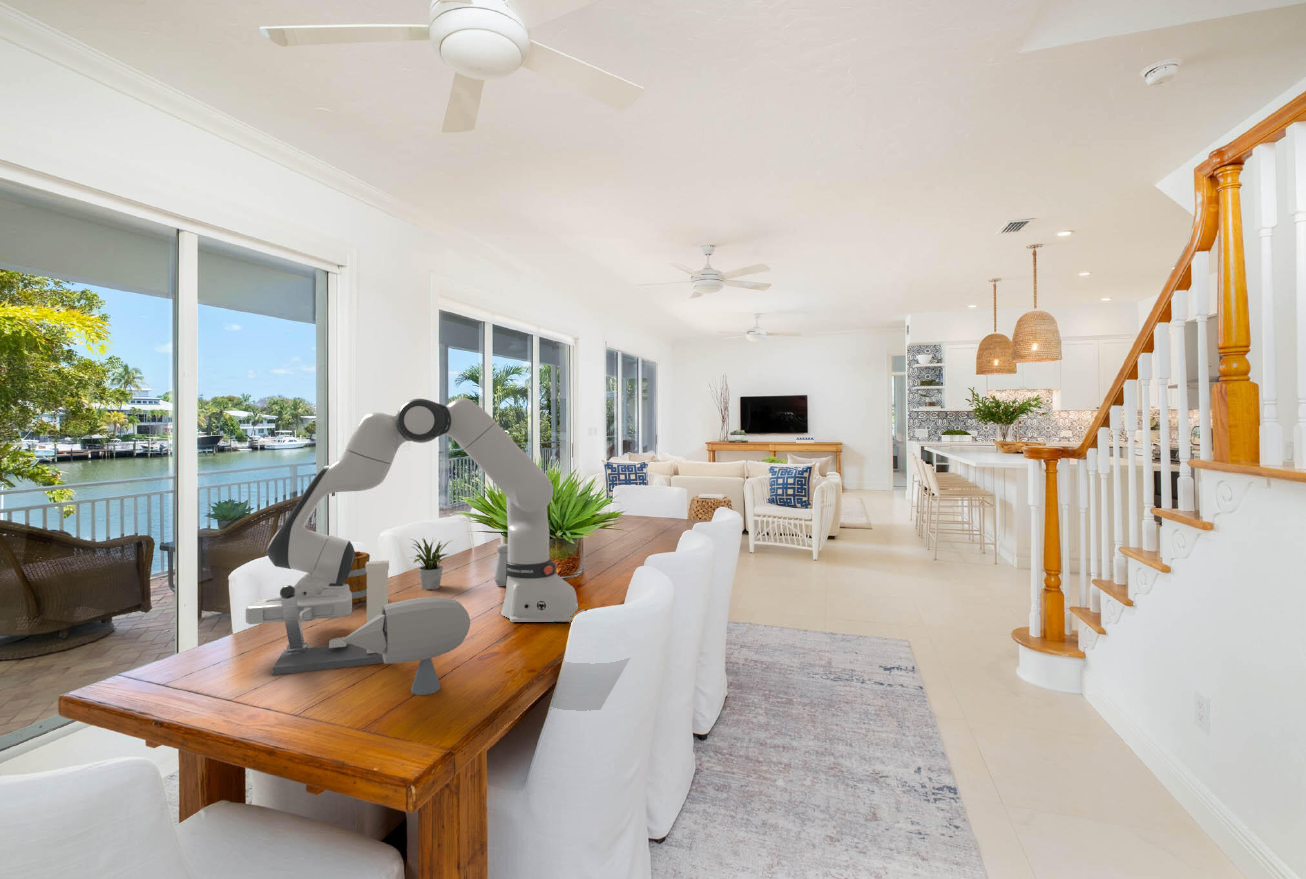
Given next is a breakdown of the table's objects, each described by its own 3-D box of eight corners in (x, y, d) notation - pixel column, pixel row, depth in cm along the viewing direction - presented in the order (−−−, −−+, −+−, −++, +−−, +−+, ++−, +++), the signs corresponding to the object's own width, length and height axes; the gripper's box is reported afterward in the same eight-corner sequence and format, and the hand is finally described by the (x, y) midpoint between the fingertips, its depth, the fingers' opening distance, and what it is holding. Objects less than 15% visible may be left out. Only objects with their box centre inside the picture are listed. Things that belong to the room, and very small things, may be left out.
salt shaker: (508, 588, 187) (508, 546, 186) (490, 587, 188) (491, 545, 187) (515, 583, 192) (516, 543, 192) (499, 582, 193) (499, 542, 193)
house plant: (391, 592, 180) (391, 538, 180) (417, 580, 194) (417, 530, 194) (435, 595, 178) (435, 540, 178) (458, 583, 192) (458, 532, 191)
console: (284, 656, 130) (284, 649, 130) (395, 645, 137) (395, 639, 137) (272, 674, 121) (272, 667, 121) (391, 661, 128) (391, 654, 128)
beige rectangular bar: (366, 650, 129) (366, 561, 129) (388, 648, 131) (389, 560, 131) (365, 654, 127) (365, 564, 127) (387, 651, 129) (388, 562, 128)
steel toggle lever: (289, 646, 129) (277, 583, 119) (308, 644, 130) (298, 581, 120) (287, 656, 127) (274, 592, 117) (306, 654, 128) (295, 591, 118)
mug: (379, 598, 174) (379, 547, 174) (319, 611, 161) (319, 556, 161) (361, 591, 181) (361, 542, 180) (302, 604, 168) (302, 550, 167)
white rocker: (332, 644, 133) (332, 638, 133) (349, 643, 134) (349, 636, 134) (328, 648, 128) (328, 641, 128) (346, 646, 129) (346, 639, 129)
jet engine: (376, 673, 122) (377, 588, 121) (475, 674, 122) (476, 589, 122) (339, 707, 107) (339, 610, 107) (451, 708, 107) (452, 611, 107)
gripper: (255, 590, 135) (235, 608, 122) (356, 583, 141) (347, 600, 128) (255, 618, 135) (235, 639, 122) (356, 609, 142) (347, 629, 129)
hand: (293, 619), depth 125 cm, fingers closed, pressing on steel toggle lever
